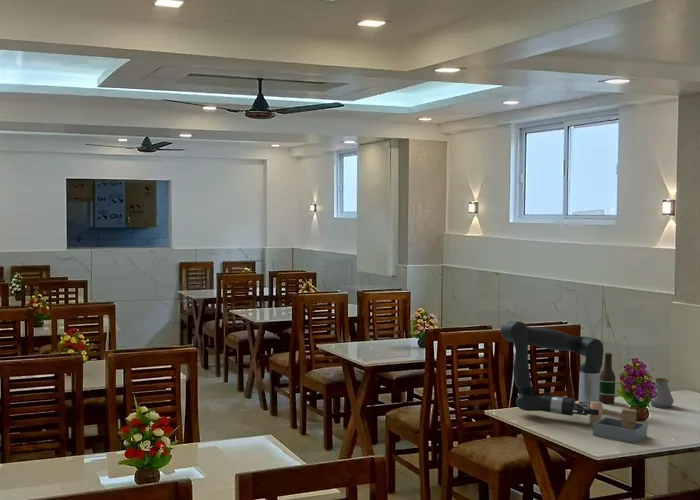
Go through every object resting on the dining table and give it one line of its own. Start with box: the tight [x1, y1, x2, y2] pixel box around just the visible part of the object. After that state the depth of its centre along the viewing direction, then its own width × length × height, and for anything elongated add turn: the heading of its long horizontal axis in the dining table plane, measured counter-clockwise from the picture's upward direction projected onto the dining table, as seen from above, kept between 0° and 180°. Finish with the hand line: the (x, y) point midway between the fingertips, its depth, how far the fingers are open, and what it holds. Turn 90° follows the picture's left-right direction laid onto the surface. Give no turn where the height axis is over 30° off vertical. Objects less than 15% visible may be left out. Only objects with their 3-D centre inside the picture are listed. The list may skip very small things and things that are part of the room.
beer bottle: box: [599, 352, 616, 405], centre depth 397 cm, size 8×8×24 cm
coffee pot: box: [650, 377, 674, 409], centre depth 391 cm, size 21×12×15 cm, turn 116°
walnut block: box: [620, 407, 638, 430], centre depth 335 cm, size 5×5×10 cm
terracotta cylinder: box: [589, 401, 603, 427], centre depth 354 cm, size 5×5×10 cm
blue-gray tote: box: [592, 416, 648, 444], centre depth 338 cm, size 14×18×5 cm
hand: (600, 410), depth 353 cm, fingers open, 8 cm apart
